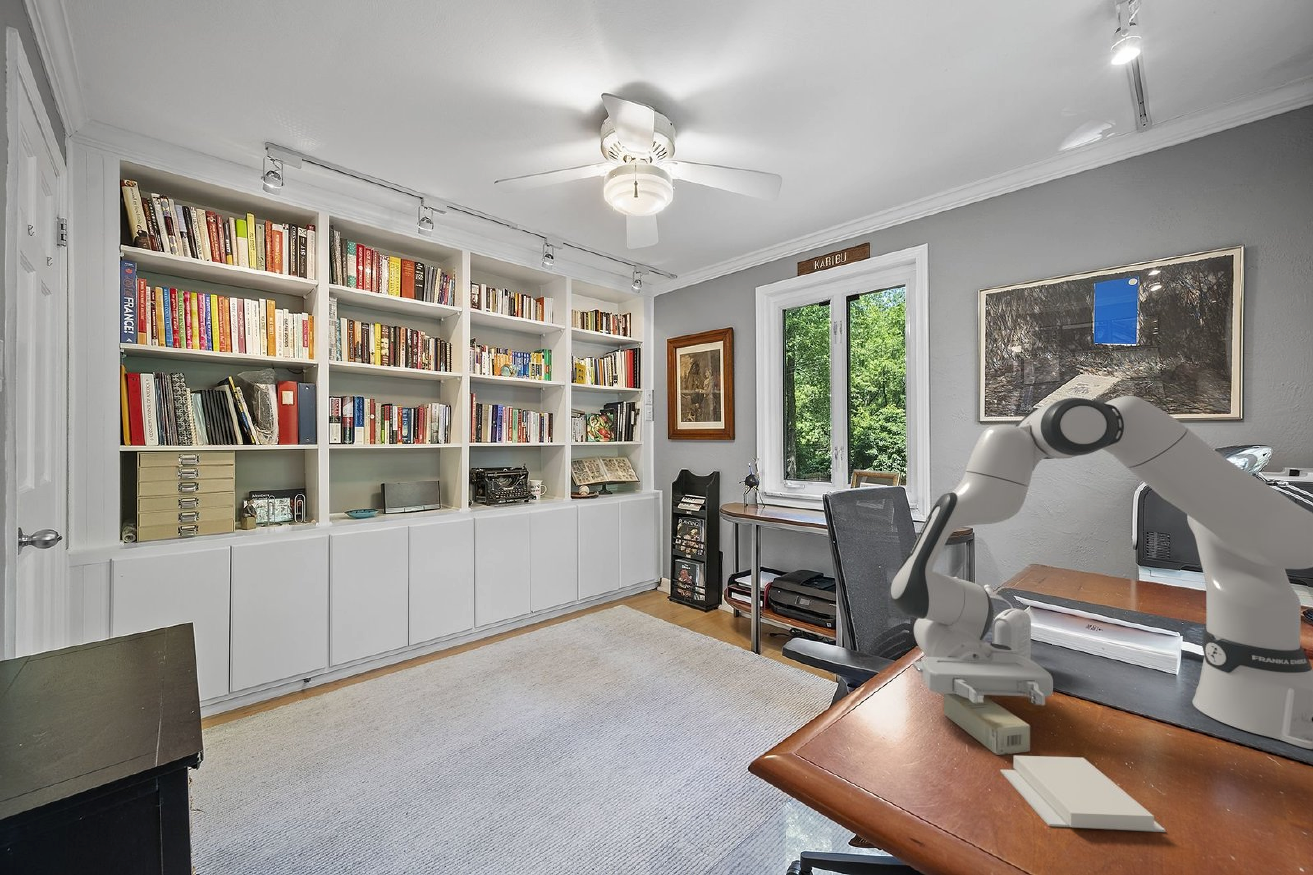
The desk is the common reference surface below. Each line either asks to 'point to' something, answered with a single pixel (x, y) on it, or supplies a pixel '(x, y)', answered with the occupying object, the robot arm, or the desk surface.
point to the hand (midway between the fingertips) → (1009, 699)
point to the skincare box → (989, 724)
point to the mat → (1042, 806)
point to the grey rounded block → (1013, 631)
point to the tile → (1082, 793)
